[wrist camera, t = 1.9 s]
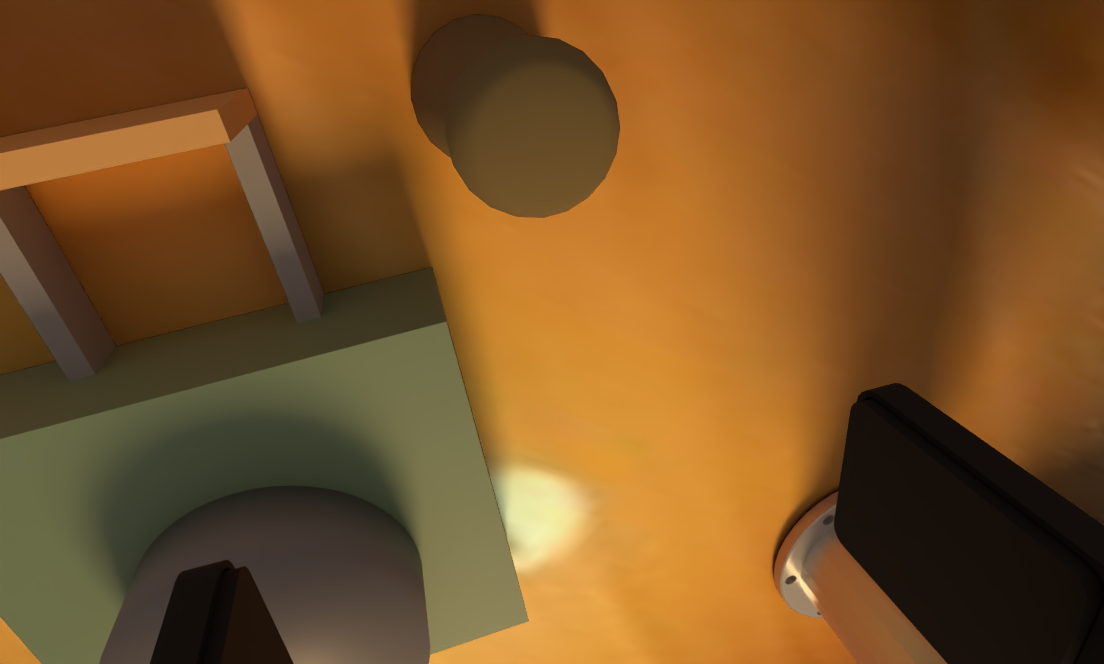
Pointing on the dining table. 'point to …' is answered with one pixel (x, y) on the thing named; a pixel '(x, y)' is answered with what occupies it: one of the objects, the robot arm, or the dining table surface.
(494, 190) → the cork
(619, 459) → the dining table surface
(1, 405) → the green box with dome
